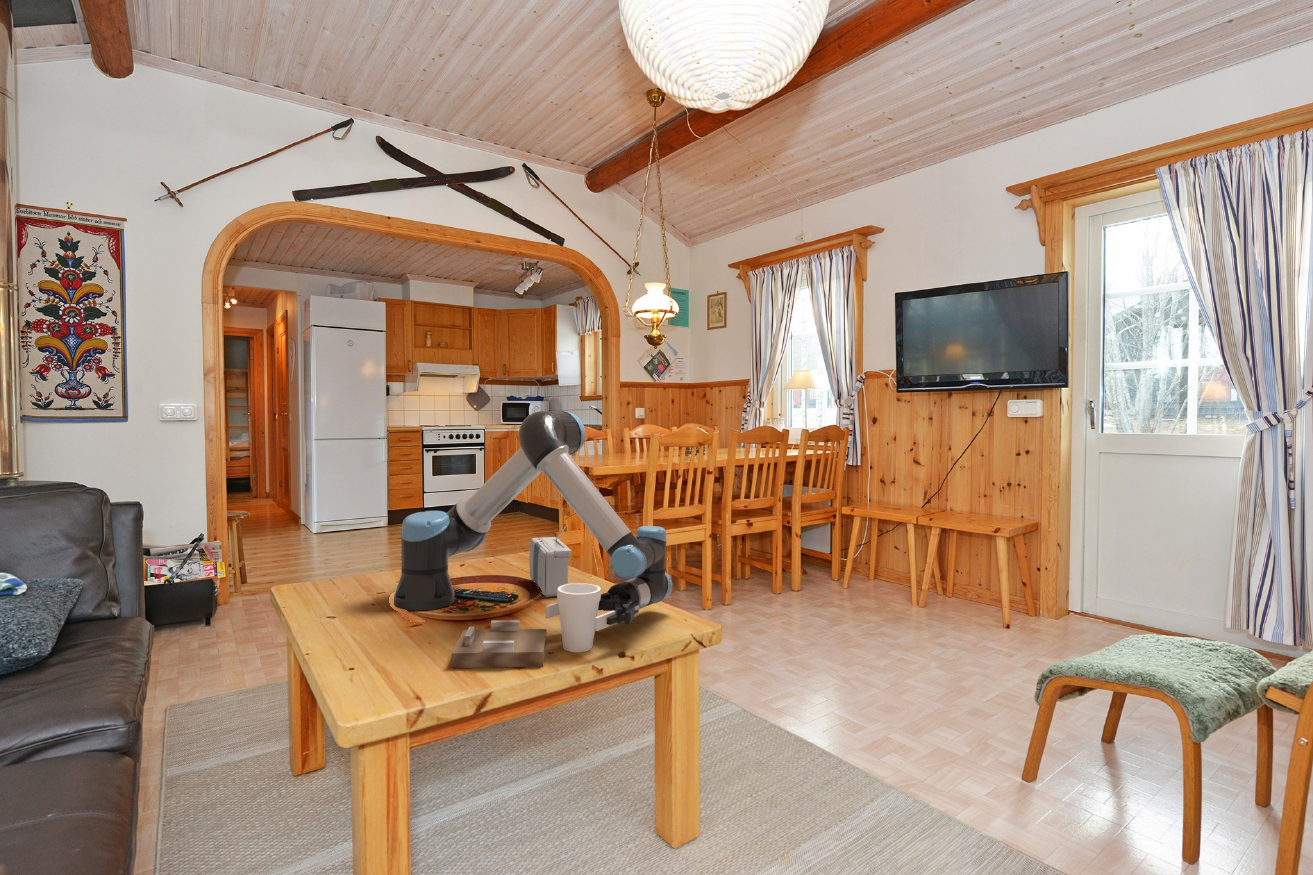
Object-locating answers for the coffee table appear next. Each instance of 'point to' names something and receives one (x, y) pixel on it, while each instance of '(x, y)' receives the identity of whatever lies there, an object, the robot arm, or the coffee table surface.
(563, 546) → the stereo radio cassette player
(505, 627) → the shelf
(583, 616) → the foam cup
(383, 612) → the coffee table surface
